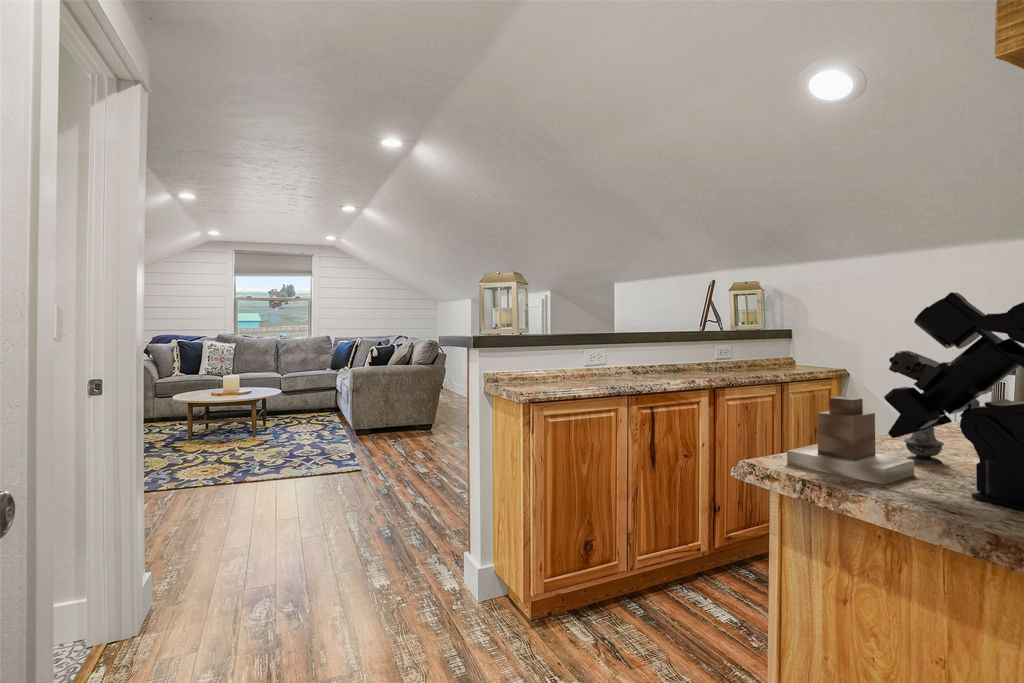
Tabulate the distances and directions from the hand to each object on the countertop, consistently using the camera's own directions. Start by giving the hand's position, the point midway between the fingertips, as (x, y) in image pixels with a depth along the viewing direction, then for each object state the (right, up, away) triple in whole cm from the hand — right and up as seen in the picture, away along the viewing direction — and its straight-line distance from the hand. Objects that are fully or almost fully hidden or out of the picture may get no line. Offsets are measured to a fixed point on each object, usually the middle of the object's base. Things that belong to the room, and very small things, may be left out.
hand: (891, 435), depth 86 cm
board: (-3, -7, +6) cm, 10 cm away
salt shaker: (+14, -7, +11) cm, 19 cm away
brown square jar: (-3, -4, +6) cm, 8 cm away
